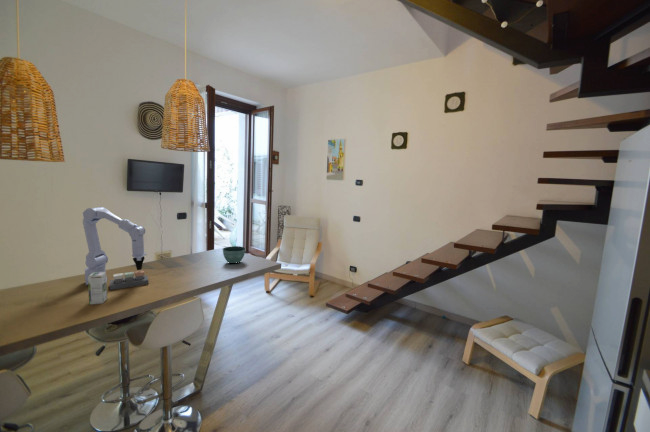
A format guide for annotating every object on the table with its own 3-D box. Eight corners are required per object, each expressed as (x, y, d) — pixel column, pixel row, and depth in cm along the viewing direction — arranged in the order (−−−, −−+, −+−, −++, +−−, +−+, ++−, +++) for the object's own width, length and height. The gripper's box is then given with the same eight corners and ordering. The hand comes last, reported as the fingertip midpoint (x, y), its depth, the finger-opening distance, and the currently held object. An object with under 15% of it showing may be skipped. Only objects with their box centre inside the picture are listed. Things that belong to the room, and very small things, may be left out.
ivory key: (114, 284, 158) (113, 276, 157) (114, 282, 161) (113, 274, 161) (123, 283, 160) (123, 275, 160) (123, 280, 164) (123, 273, 163)
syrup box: (93, 300, 142) (91, 272, 140) (108, 298, 144) (106, 271, 142) (89, 304, 137) (86, 276, 135) (103, 303, 139) (101, 275, 137)
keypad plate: (110, 290, 155) (109, 285, 155) (110, 284, 163) (110, 280, 163) (148, 284, 165) (148, 279, 165) (147, 278, 173) (147, 275, 173)
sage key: (124, 282, 161) (124, 275, 160) (124, 280, 164) (124, 272, 164) (134, 281, 163) (133, 273, 163) (133, 279, 167) (133, 271, 166)
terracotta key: (135, 281, 164) (135, 273, 163) (135, 278, 167) (134, 271, 167) (144, 279, 166) (144, 272, 166) (143, 277, 170) (143, 270, 169)
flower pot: (247, 259, 221) (247, 246, 219) (242, 266, 205) (242, 251, 203) (226, 259, 220) (226, 246, 218) (220, 265, 204) (219, 251, 202)
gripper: (147, 248, 161) (148, 271, 162) (145, 243, 172) (146, 265, 174) (132, 250, 157) (133, 273, 158) (131, 245, 168) (132, 267, 170)
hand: (139, 269), depth 166 cm, fingers closed
